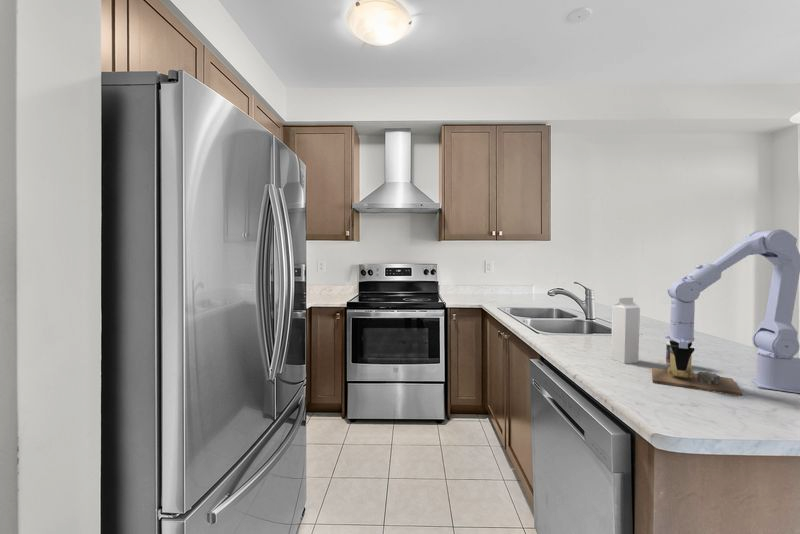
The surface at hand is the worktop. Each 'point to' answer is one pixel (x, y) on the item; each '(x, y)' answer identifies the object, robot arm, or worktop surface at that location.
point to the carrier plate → (697, 381)
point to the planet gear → (675, 372)
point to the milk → (625, 331)
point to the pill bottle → (668, 352)
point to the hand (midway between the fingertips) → (680, 367)
